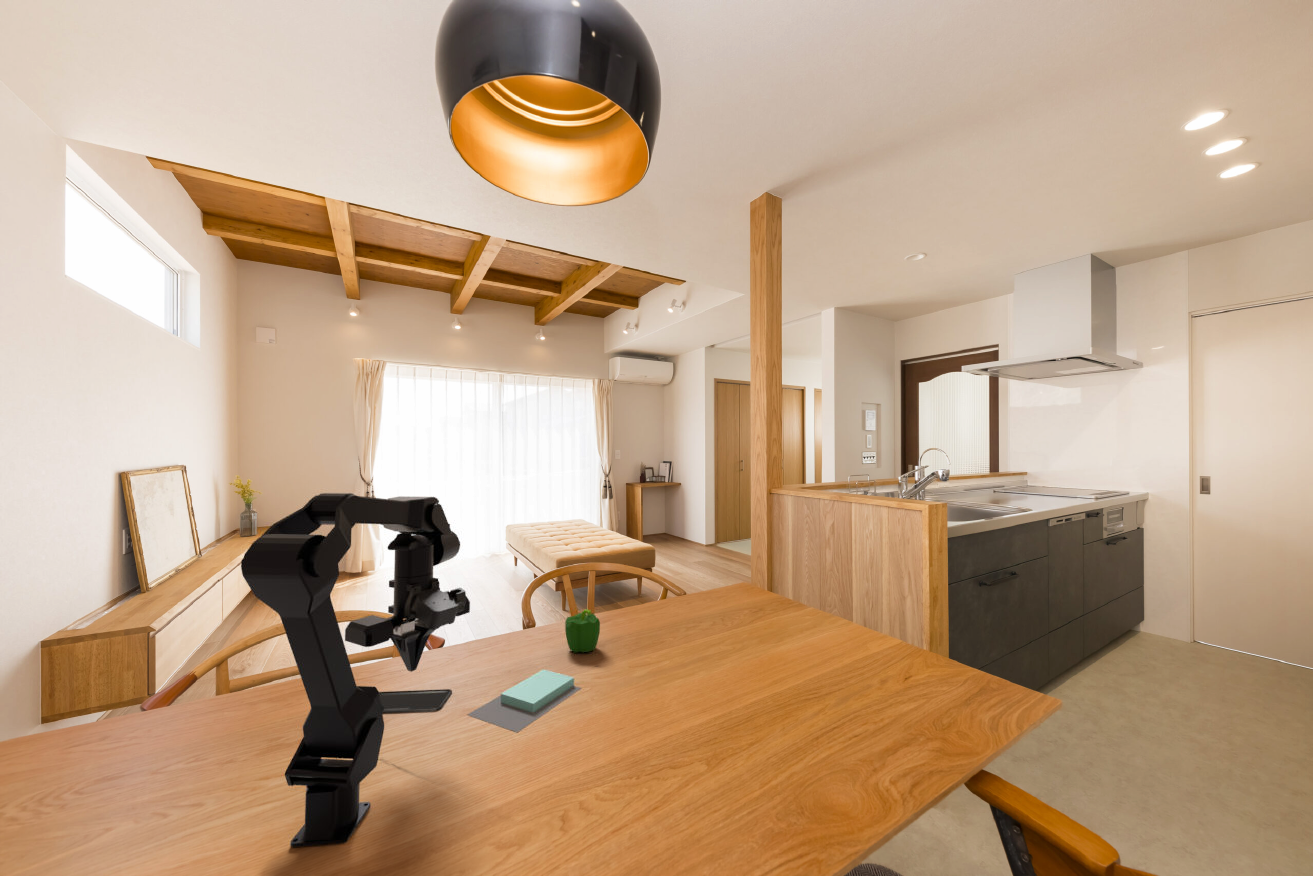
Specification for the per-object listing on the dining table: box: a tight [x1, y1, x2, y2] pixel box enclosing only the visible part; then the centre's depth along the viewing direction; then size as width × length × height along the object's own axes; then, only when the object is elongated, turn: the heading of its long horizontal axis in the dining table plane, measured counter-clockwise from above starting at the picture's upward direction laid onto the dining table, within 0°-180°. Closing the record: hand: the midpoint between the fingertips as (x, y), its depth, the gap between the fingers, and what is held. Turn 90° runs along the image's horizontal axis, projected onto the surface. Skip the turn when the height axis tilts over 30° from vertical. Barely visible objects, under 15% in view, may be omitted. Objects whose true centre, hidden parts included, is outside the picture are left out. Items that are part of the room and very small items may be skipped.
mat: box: [466, 685, 582, 734], centre depth 93 cm, size 18×12×1 cm, turn 152°
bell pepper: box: [564, 608, 601, 653], centre depth 119 cm, size 8×8×10 cm
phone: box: [379, 688, 453, 714], centre depth 92 cm, size 8×1×15 cm
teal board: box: [500, 668, 575, 713], centre depth 96 cm, size 2×8×12 cm
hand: (411, 670), depth 80 cm, fingers closed
